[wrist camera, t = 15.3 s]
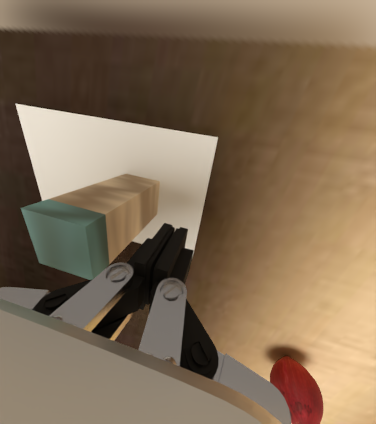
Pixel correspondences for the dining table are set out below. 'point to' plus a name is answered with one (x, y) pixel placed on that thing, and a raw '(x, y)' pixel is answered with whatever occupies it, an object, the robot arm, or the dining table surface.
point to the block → (91, 223)
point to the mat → (121, 161)
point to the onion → (298, 391)
